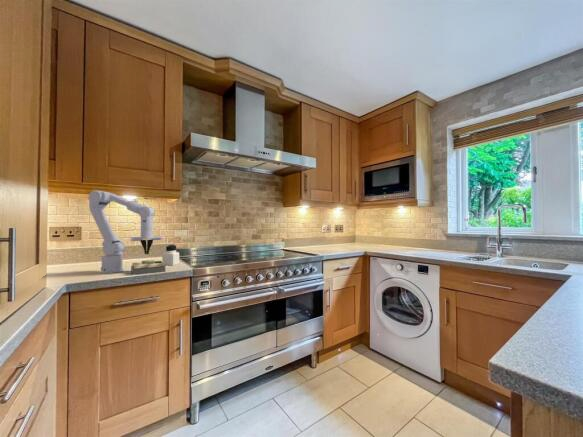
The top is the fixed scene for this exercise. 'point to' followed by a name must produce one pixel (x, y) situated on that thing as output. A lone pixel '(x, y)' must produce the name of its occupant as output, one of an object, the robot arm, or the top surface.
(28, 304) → the top surface
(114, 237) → the robot arm
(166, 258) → the medicine bottle
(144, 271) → the instrument base
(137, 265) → the leveling plate
